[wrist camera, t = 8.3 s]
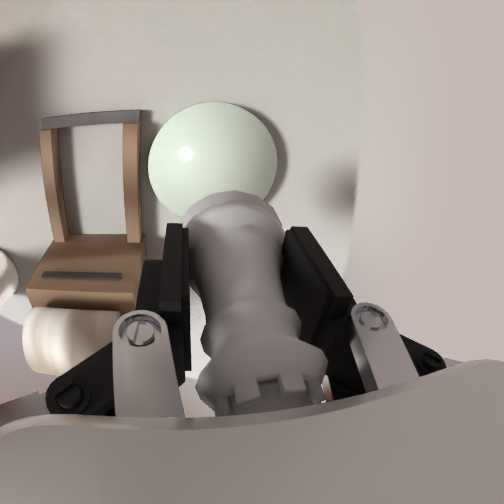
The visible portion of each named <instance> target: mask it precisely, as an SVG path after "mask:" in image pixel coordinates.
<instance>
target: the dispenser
mask: <svg viewBox="0 0 504 504" xmlns="http://www.w3.org/2000/svg"><path fill="white" fill-rule="evenodd" d="M109 123H124V124H123V184H124V204H125V218H126V230H127V235H69V229H68V224H67V218H66V212H65V205H64V198H63V191H62V182H61V173H60V162H59V148H58V128H62V127H71V126H81V125H94V124H109ZM140 126H141V110H119V111H103V112H90V113H80V114H70V115H62V116H55V117H48V118H44V119H42V130H41V131H39V134H40V150H41V161H42V171H43V179H44V187H45V194H46V200H47V206H48V212H49V218H50V223H51V228H52V233H53V237H54V240H53V242H52V243H51V245H50V246H49V248H48V250H47V251H46V253H45V254H44V256H43V258H42V259H41V261H40V263H39V264H38V266H37V268H36V269H35V271H34V273H33V275H32V276H31V278H30V280H29V282H28V283H27V285H26V287H25V291H26V293H27V296H28V298H29V301H30V303H31V305H32V309H31V310H30V311H29V312H28V314H27V316H26V318H25V322H24V326H23V334H22V342H23V349H24V355H25V358H26V360H27V362H28V365H29V366H30V368H31V369H32V370H33V371H35V372H39V373H44V374H52V375H58V376H61V375H62V374H64V373H65V372H67V371H68V370H70V369H71V368H73V367H74V366H76V365H77V364H79V363H80V362H82V361H83V360H85V359H86V358H88V357H89V356H91V355H92V354H94V353H95V352H97V351H98V350H100V349H101V348H103V347H104V346H106V345H107V344H109V343H110V342H112V341H113V328H114V324H115V323H116V321H117V320H118V319H119V318H120V317H121V316H123V315H124V314H126V313H129V312H131V311H135V307H136V301H137V295H138V289H139V283H140V278H141V272H142V267H143V262H144V260H147V255H146V241H145V235H142V224H141V203H140Z"/></svg>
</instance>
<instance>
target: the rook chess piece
mask: <svg viewBox="0 0 504 504" xmlns="http://www.w3.org/2000/svg"><path fill="white" fill-rule="evenodd" d="M178 223H183V228H189V285H190V287H191V288H192V289H193V290H194V291H195V292H196V293H197V294H198V296H199V297H200V298H201V302H202V305H203V309H204V312H205V316H206V325H205V326H204V330H203V333H202V336H201V339H200V340H201V344H202V347H203V350H204V352H205V353H206V354H207V355H208V356H209V357H210V358H211V361H210V362H209V363H208V364H207V365H206V367H205V368H204V369H203V370H202V372H201V373H200V375H199V378H198V381H197V384H196V387H195V388H196V390H197V392H198V394H199V397H200V399H201V400H202V401H203V402H204V403H205V404H206V405H208V406H209V407H210V408H211V409H212V410H213V411H215V417H220V416H233V415H244V414H254V413H263V412H271V411H278V410H285V409H292V408H298V407H304V406H310V405H315V404H320V403H321V401H324V400H326V397H325V395H324V392H323V390H322V387H321V384H322V381H323V379H324V376H325V373H326V369H327V365H328V360H327V358H326V356H325V355H324V353H323V351H322V350H321V349H319V348H317V347H315V346H312V345H310V344H308V343H306V342H303V341H301V340H299V336H300V334H301V323H302V321H301V320H300V318H299V316H298V314H297V313H296V311H295V310H294V309H292V308H290V307H288V306H287V304H286V301H285V298H284V293H283V288H282V282H281V274H282V271H283V254H282V245H283V241H284V236H285V233H284V231H283V229H282V224H281V222H280V220H279V218H278V216H277V214H276V212H275V210H274V208H273V207H272V206H270V205H269V204H268V203H266V202H265V201H264V200H262V199H261V198H260V197H258V196H257V195H253V194H249V193H245V192H241V191H237V190H232V191H225V192H218V193H212V194H210V195H208V196H206V197H205V198H203V199H201V200H199V201H198V202H196V203H194V204H192V205H191V206H190V208H189V209H188V210H187V211H186V213H185V214H184V215H183V217H182V218H181V219H180V220H179V222H178Z"/></svg>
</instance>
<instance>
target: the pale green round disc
mask: <svg viewBox="0 0 504 504" xmlns="http://www.w3.org/2000/svg"><path fill="white" fill-rule="evenodd" d="M276 172H277V152H276V147H275V144H274V141H273V139H272V137H271V134H270V133H269V131H268V130H267V128H266V127H265V125H264V124H263V123H262V122H261V121H260V120H259V119H258V118H257V117H255V116H254V115H253V114H251V113H250V112H248V111H246V110H245V109H243V108H241V107H239V106H236V105H233V104H229V103H224V102H204V103H199V104H195V105H192V106H190V107H187V108H185V109H183V110H181V111H180V112H178V113H176V114H175V115H174V116H173V117H171V118H170V119H169V120H168V121H167V122H166V123H165V124H164V125H163V127H162V128H161V130H160V131H159V132H158V134H157V136H156V138H155V140H154V141H153V144H152V147H151V149H150V154H149V160H148V174H149V179H150V183H151V185H152V188H153V190H154V192H155V194H156V196H157V198H158V199H159V200H160V202H161V203H162V204H163V205H164V206H165V207H166V208H167V209H168V210H169V211H171V212H172V213H173V214H175V215H176V216H178V217H180V218H182V217H183V215H184V214H185V213H186V211H187V210H188V209H189V208H190V206H191V205H192V204H194V203H196V202H198V201H199V200H201V199H203V198H205V197H206V196H208V195H210V194H212V193H218V192H225V191H232V190H237V191H241V192H245V193H249V194H253V195H257V196H258V197H260V198H261V199H262V200H264V198H265V197H266V195H267V194H268V193H269V191H270V189H271V187H272V185H273V182H274V179H275V176H276Z"/></svg>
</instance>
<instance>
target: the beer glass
mask: <svg viewBox="0 0 504 504" xmlns="http://www.w3.org/2000/svg"><path fill="white" fill-rule="evenodd" d="M17 286H18V274H17V271H16V268H15V266H14V264H13V263H12V261H11V260H10V259H9V257H8V256H7V255H6V254H5V253H4V252H3V251H1V250H0V311H1V309H2V307H3V305H4V304H5V303H6V301H7V300H8V299H9V298H10V297H11V296H12V295H13V293H14V292H15V291H16V289H17Z"/></svg>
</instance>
